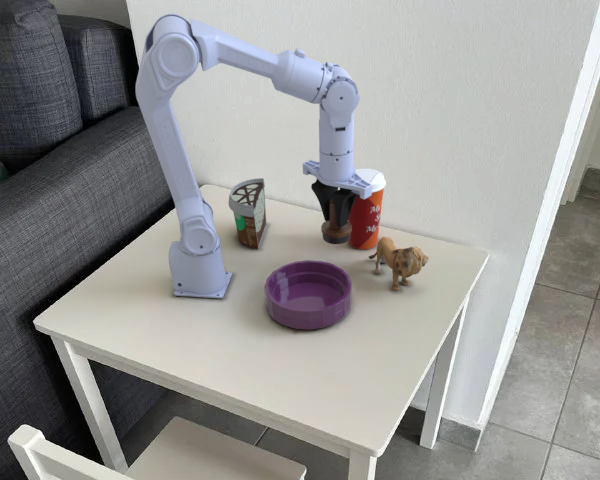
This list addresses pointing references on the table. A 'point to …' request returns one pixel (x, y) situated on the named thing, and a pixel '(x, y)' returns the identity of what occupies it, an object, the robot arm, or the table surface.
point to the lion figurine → (399, 260)
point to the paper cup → (367, 211)
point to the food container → (249, 211)
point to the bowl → (308, 294)
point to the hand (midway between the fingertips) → (336, 221)
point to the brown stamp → (335, 228)
